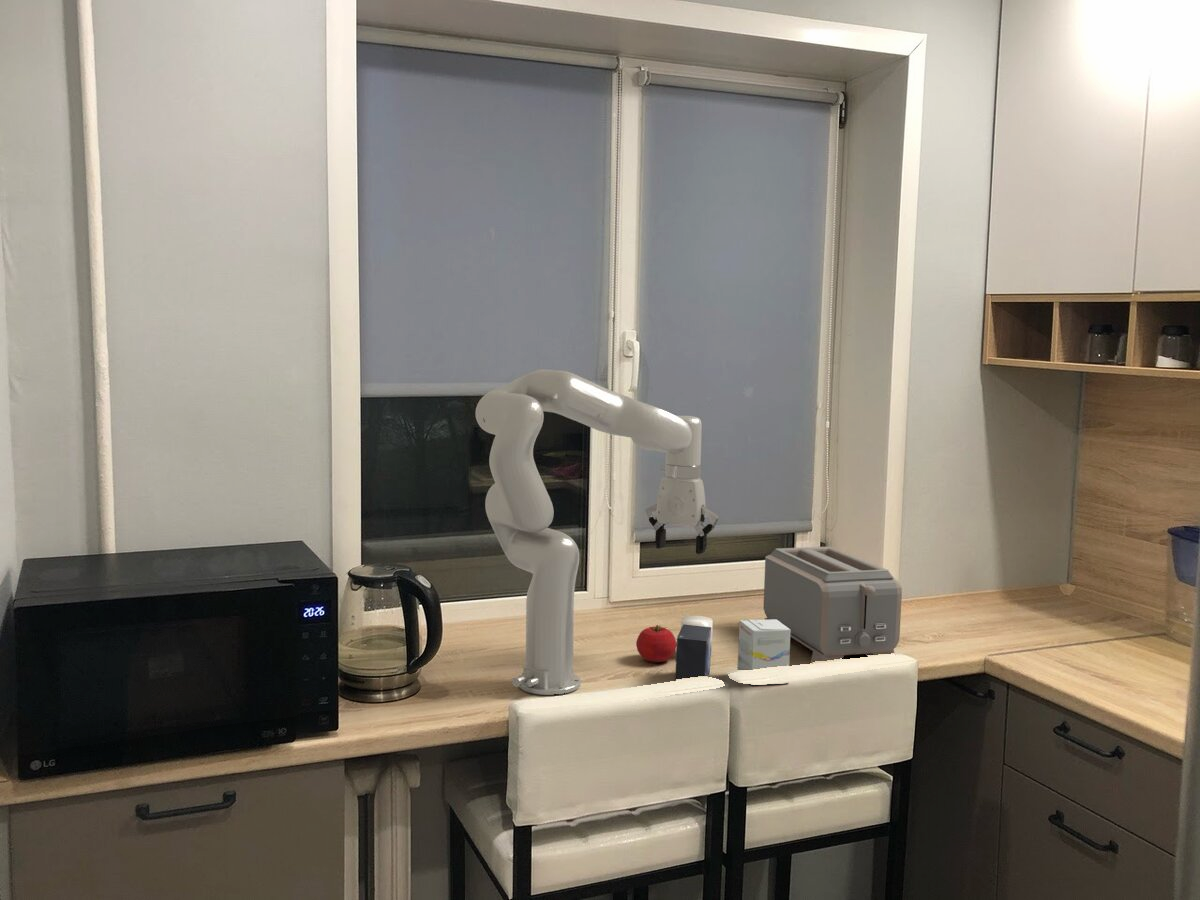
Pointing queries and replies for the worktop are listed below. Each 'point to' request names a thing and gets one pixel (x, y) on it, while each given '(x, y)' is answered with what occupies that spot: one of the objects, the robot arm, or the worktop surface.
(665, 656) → the tomato
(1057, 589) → the worktop surface
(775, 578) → the toaster
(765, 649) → the ink box
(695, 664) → the small box
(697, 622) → the white capsule cylinder
